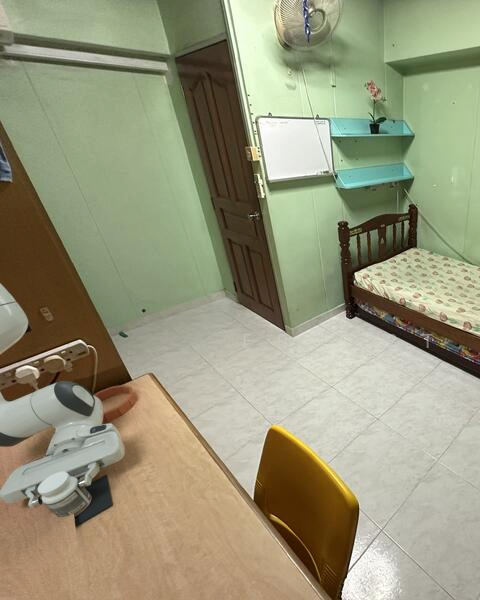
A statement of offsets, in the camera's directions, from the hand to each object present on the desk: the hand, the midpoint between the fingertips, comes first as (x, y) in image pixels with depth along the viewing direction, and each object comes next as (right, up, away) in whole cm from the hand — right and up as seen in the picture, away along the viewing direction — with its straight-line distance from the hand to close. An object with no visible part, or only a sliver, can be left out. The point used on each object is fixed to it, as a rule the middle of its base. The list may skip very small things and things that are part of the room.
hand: (60, 495), depth 67 cm
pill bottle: (-1, -5, +4) cm, 7 cm away
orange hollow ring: (-16, +9, +30) cm, 35 cm away
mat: (-1, -6, +4) cm, 7 cm away
